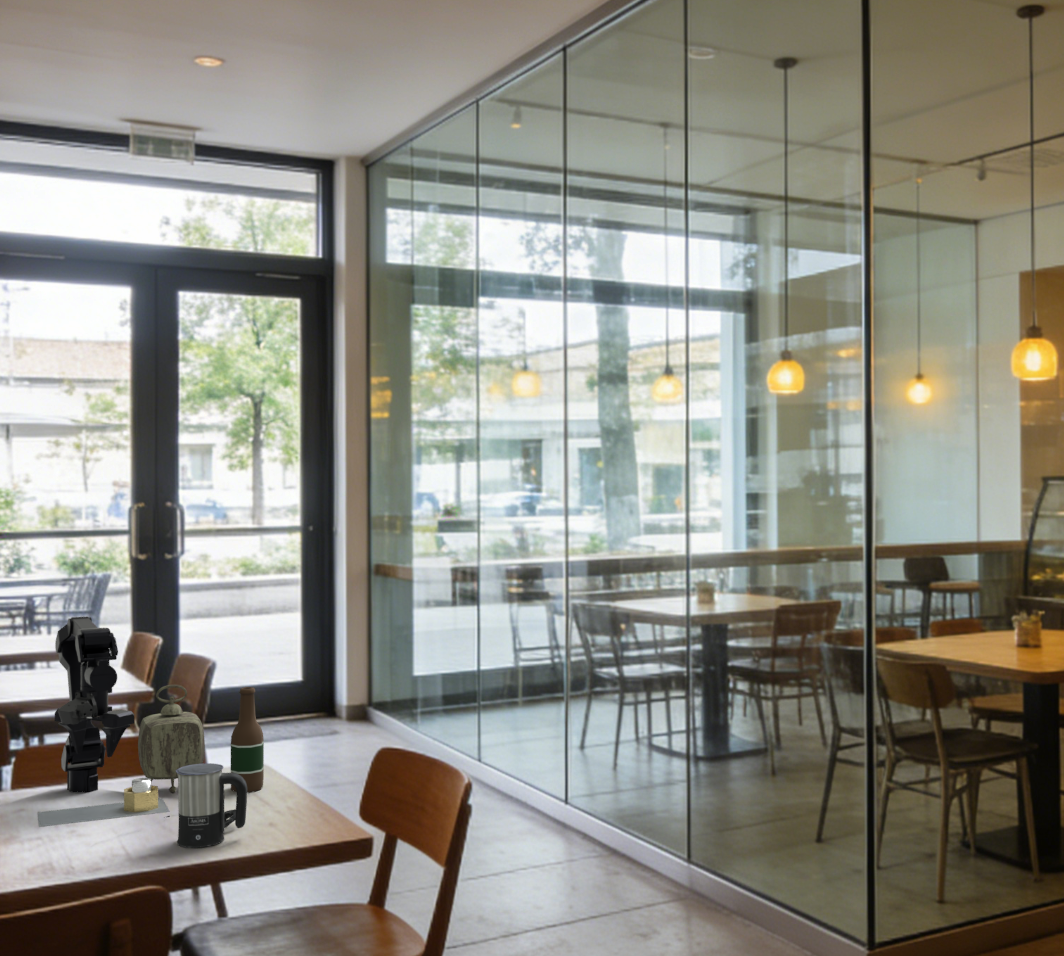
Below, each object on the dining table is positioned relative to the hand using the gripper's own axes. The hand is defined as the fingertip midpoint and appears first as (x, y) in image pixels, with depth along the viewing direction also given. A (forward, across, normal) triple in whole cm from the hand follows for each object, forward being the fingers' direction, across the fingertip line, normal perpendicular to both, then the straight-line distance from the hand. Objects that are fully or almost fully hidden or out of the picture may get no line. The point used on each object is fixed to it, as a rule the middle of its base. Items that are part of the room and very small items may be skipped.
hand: (94, 754), depth 250 cm
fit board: (+12, +7, -4) cm, 14 cm away
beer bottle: (+12, +20, +28) cm, 36 cm away
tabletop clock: (+12, +5, +19) cm, 23 cm away
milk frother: (+12, +37, -5) cm, 39 cm away
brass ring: (+11, +12, +2) cm, 16 cm away
